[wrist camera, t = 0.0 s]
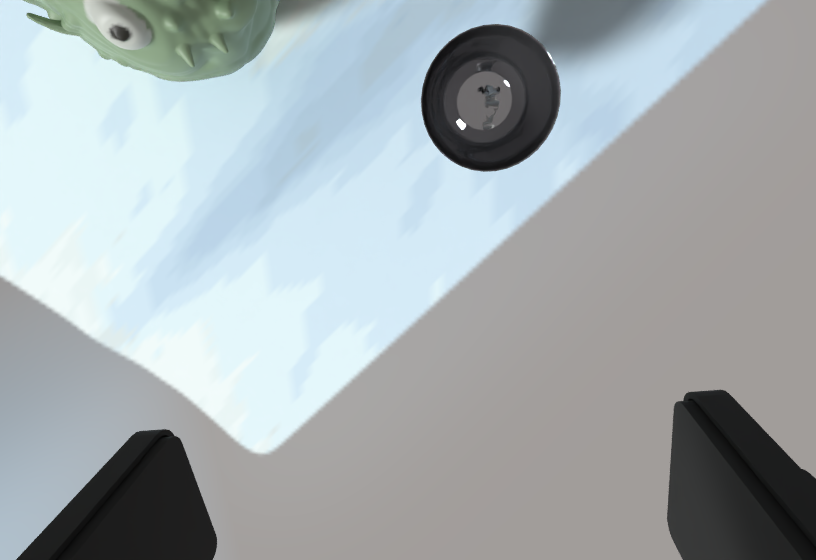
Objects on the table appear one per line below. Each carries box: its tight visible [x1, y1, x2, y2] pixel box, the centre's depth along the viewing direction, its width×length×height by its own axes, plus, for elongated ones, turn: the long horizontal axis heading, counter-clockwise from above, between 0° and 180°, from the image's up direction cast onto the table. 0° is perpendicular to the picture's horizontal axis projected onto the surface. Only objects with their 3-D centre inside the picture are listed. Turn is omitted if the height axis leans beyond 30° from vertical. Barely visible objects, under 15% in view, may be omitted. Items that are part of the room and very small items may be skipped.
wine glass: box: [421, 24, 561, 172], centre depth 34 cm, size 8×8×15 cm
